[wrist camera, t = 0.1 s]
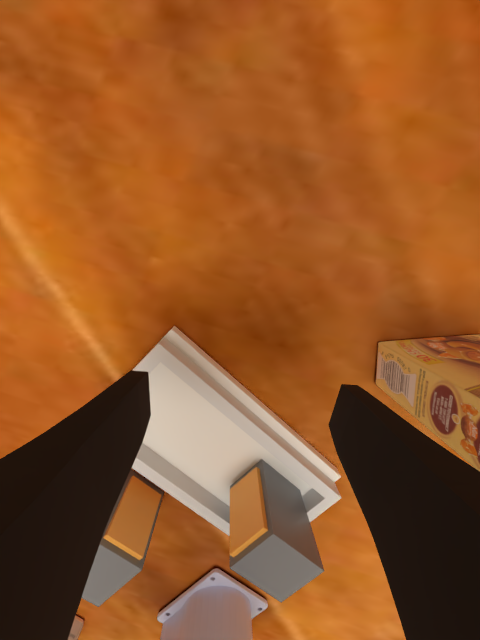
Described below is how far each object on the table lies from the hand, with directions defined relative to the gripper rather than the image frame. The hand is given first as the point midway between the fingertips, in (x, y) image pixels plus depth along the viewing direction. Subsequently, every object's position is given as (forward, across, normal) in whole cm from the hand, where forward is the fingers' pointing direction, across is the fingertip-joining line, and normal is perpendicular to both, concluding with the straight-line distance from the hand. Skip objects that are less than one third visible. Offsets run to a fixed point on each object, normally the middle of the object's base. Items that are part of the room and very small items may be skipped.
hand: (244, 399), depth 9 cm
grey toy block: (+7, -4, +16) cm, 18 cm away
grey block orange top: (+8, +8, +19) cm, 22 cm away
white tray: (+9, +1, +13) cm, 15 cm away
